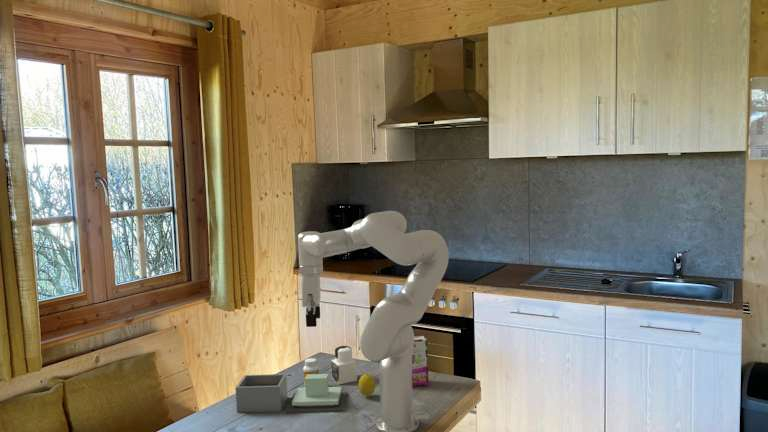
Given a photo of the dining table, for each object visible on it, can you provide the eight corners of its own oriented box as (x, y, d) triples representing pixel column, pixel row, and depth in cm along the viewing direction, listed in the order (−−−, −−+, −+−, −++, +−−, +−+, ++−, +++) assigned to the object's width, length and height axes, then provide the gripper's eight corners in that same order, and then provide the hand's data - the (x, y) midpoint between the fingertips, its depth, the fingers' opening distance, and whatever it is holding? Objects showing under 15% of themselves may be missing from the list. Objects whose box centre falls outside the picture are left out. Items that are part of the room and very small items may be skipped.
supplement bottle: (316, 390, 199) (315, 362, 198) (301, 389, 200) (300, 362, 199) (321, 384, 204) (320, 357, 203) (307, 383, 205) (305, 357, 204)
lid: (341, 393, 193) (340, 369, 193) (338, 407, 182) (337, 382, 181) (298, 394, 194) (297, 370, 193) (292, 408, 182) (290, 383, 181)
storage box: (287, 397, 194) (286, 374, 193) (280, 411, 183) (279, 386, 182) (246, 398, 194) (244, 375, 193) (237, 412, 183) (235, 387, 182)
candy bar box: (426, 380, 204) (424, 335, 203) (428, 385, 199) (427, 339, 198) (394, 383, 203) (393, 337, 201) (396, 388, 198) (395, 341, 196)
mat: (347, 393, 195) (347, 391, 195) (343, 411, 181) (343, 408, 181) (294, 395, 195) (294, 392, 195) (286, 412, 181) (286, 410, 181)
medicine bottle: (331, 378, 209) (330, 346, 208) (350, 374, 212) (348, 343, 211) (338, 385, 203) (337, 351, 202) (357, 381, 206) (356, 348, 205)
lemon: (366, 392, 195) (365, 369, 195) (379, 396, 192) (378, 372, 191) (355, 397, 191) (354, 374, 190) (368, 401, 188) (367, 377, 187)
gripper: (303, 265, 194) (305, 315, 195) (295, 275, 176) (297, 330, 178) (325, 265, 194) (327, 315, 195) (319, 274, 176) (321, 329, 178)
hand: (313, 322), depth 187 cm, fingers open, 9 cm apart
